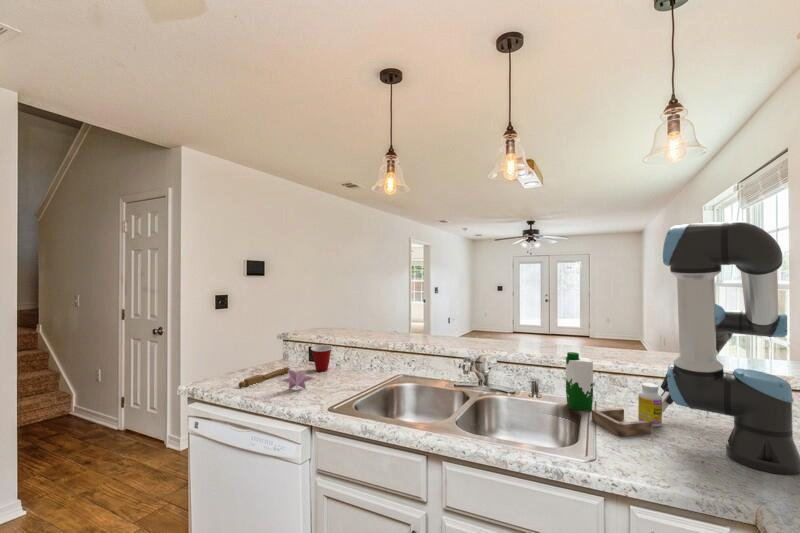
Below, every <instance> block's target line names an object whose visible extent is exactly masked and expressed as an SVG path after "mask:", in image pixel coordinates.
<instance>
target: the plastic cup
mask: <svg viewBox="0 0 800 533" xmlns="http://www.w3.org/2000/svg"><path fill="white" fill-rule="evenodd" d="M332 349H333V346H332V345H328V344H318V345H314V346H312V347H310V350H311V352H312V356H313V361H314V362H313V363H314V366H315V371H316V372H319V373H321V372H322V373H323V372H328V369H329V364H330V358H331V353H332Z"/></svg>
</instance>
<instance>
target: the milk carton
mask: <svg viewBox="0 0 800 533" xmlns="http://www.w3.org/2000/svg"><path fill="white" fill-rule="evenodd" d="M565 395H566V404H567V405H568V407H569V409H570V410H572V411H585V410H593V399H594V362H593V361H592V360H591V359H590V358H588V357H581V356H580V354H579V353H578V352H573V351H572V352H571V351H570V352H567V353H566V356H565Z"/></svg>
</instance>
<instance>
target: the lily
mask: <svg viewBox="0 0 800 533" xmlns="http://www.w3.org/2000/svg"><path fill="white" fill-rule="evenodd" d="M287 374H288V376H289V377H287V378H284V379H282V382H284V383H289V384H288V389H289V390H291V389H293V388H295V387H300V388H301V389H306V388H307V387H306V382H310V381H312V380H314V379H315V378H314V377H313V376H310V375H306V370H304V371H301V372H300V373H298V372H297V371H295V370H293V369H290V370H288V373H287ZM296 394H297V395H299V394H298V391H296Z"/></svg>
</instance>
